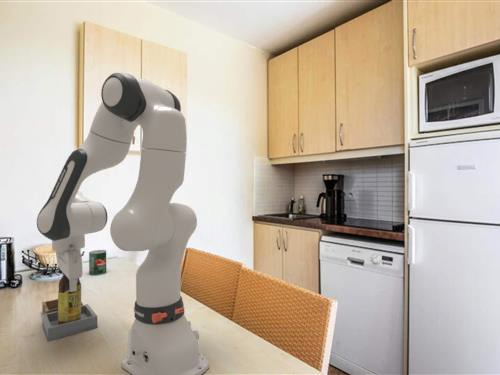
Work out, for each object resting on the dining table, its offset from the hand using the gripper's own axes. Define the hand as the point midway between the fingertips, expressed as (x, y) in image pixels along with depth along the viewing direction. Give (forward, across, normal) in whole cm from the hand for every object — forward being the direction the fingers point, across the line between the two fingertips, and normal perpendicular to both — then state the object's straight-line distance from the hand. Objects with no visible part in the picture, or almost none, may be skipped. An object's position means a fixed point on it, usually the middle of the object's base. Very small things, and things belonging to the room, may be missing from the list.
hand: (70, 287), depth 97 cm
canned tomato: (+12, +59, -22) cm, 64 cm away
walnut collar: (+12, +14, 0) cm, 19 cm away
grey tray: (+12, 0, 0) cm, 12 cm away
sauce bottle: (+12, 0, 0) cm, 12 cm away
